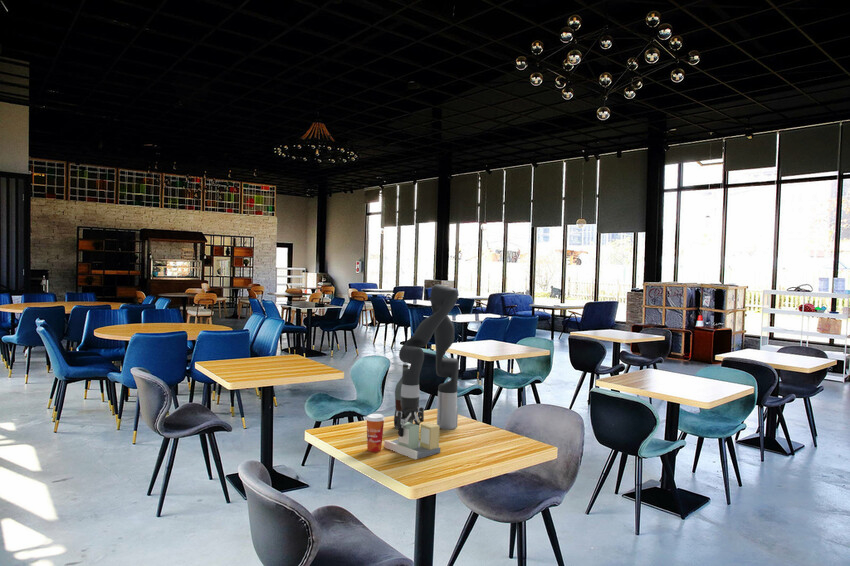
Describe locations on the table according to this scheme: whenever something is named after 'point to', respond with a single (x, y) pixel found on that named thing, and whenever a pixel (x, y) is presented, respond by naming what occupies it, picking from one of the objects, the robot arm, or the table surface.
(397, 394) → the bottle
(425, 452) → the display board
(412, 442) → the tea box
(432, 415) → the table surface
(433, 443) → the mustard box
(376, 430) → the paper cup
